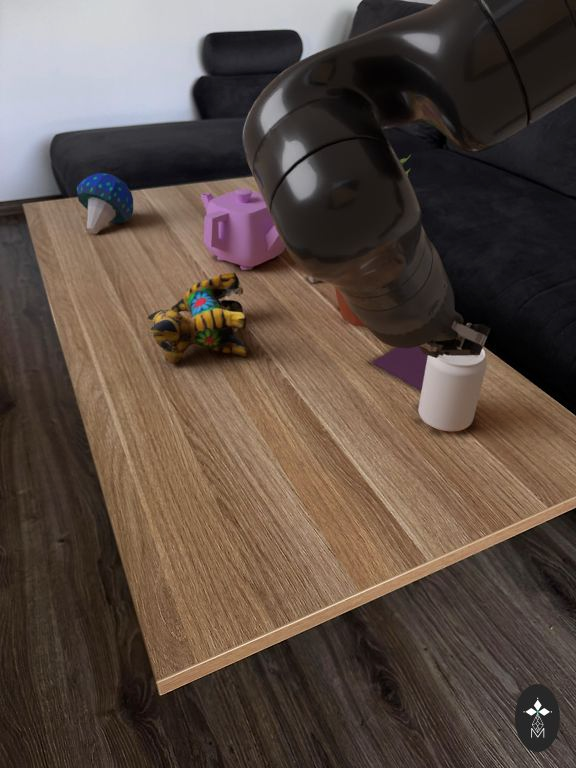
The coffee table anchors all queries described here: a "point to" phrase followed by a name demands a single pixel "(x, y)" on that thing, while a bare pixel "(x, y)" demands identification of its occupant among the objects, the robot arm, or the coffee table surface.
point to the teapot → (240, 228)
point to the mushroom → (105, 200)
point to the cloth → (405, 365)
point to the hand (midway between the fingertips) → (434, 347)
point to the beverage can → (451, 390)
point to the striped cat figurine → (202, 319)
